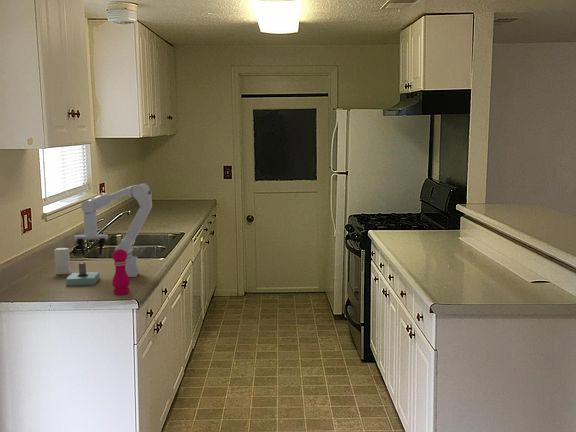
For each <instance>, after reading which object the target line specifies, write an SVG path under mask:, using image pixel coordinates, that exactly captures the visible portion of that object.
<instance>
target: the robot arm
mask: <svg viewBox="0 0 576 432" xmlns="http://www.w3.org/2000/svg"><path fill="white" fill-rule="evenodd" d="M152 195H153V191H152V189H151V188H150V185H149V184H147V183H144V182H142V183H139V184H134V185H131V186H127V187H125V188H122V189H120V190H118V191H115V192H113V193H111V194H109V193H106V192H105V193H104V192H102V193H101V192H100V194H99V195H98V196H95V197H93V196H92V197H90V199H88V200H87V199H86V200H84V202H82V203H81V205H80V206H81V207H80V208H81V211H82V212H83V229H84V234H75V235H74V241H76V244H77V245H78V247H79V249H80V251H81V255H82V256H85V255H86V250H85V240H98V241H97V242H98V249H99V250H98V251H99V252H98V254H99V256H101V255H103V250H104V249H103V248H104V245H105V243H106V240H108V238H109V237H108V234H100V233H99V234H98V218H97V210H100V209H103V208H106V207H109V206H110V205H112V202H113V201H116V200H120V199H121V198H124V197H126V196H127V197H130V198H131V197H133V198H134V199H135V200H136V201H137V203H138V205H139V208H138V210H137V211H136V214H135V215H134V218H133V219H132V222H131V224H130V225H129V227H128V229H127V231H126V233H125V235H124V236H123V238H122V239H121V241H120V243H119V244H118V245H116V246H115V248H114V251H115V250H118V249H117V247H118V246H121V247H122V250H125V251H126V252H127V259H126V260H125V261H126V265H125V270H126V273H127V275H128V277H129V278H137V276H138V274H139V259H138V256H133V253H132V252H133V251H134V245H135V242H136V238H137V237H138V235H139V233H140V231H141V229H142V228H143V225H144V224H145V221H146V219H147V218H148V216H149V214H150V213H151V210H152V208H153V200H152V199H153V198H152Z"/></svg>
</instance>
